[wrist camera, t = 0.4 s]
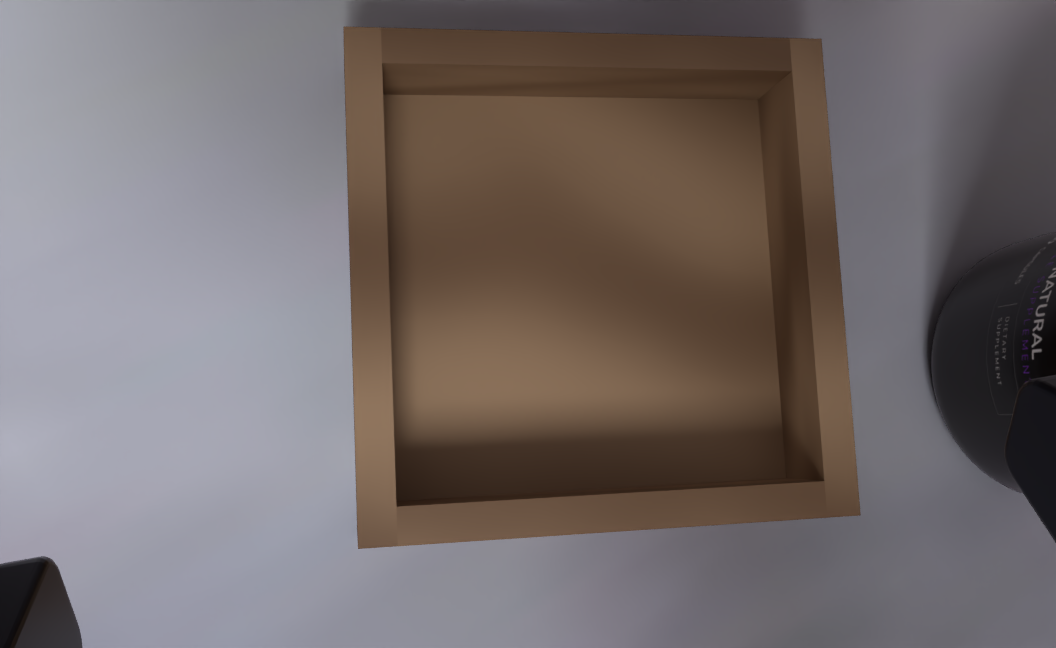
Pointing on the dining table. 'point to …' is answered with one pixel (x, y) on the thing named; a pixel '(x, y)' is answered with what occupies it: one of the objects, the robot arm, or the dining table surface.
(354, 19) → the dining table surface
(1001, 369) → the supplement bottle
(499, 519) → the walnut holder
